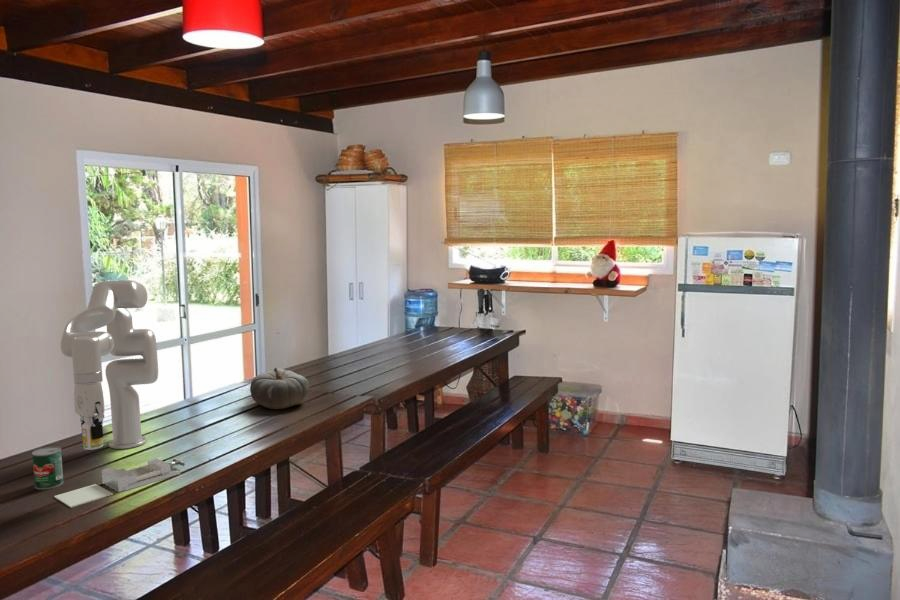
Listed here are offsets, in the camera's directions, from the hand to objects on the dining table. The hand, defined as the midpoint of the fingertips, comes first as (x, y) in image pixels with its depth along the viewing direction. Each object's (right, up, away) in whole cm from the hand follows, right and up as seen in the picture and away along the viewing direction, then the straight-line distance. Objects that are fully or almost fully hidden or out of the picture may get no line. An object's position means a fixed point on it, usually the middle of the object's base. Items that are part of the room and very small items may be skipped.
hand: (92, 435), depth 207 cm
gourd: (+33, -6, +98) cm, 104 cm away
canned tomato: (-18, -17, +9) cm, 26 cm away
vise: (+10, -16, +14) cm, 24 cm away
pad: (-2, -18, -1) cm, 18 cm away
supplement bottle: (0, -4, +1) cm, 4 cm away
